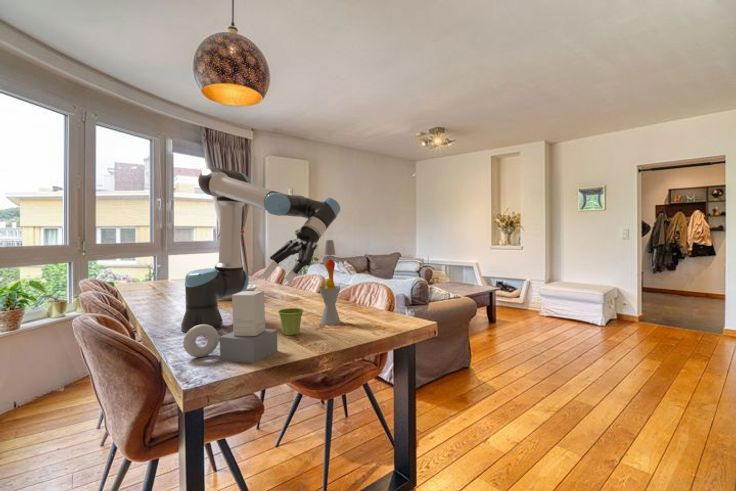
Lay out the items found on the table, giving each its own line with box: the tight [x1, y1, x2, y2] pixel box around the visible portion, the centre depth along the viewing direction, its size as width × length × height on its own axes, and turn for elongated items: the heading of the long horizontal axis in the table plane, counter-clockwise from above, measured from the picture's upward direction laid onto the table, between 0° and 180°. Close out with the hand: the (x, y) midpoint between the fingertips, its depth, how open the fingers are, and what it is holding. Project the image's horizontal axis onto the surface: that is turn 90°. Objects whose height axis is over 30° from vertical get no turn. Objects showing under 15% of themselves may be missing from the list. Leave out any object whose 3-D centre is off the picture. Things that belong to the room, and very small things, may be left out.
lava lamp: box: [319, 239, 341, 326], centre depth 149 cm, size 9×9×35 cm
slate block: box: [219, 328, 278, 364], centre depth 110 cm, size 12×12×7 cm
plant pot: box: [277, 307, 304, 336], centre depth 133 cm, size 9×9×9 cm
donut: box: [182, 324, 220, 358], centre depth 108 cm, size 10×4×10 cm, turn 124°
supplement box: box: [231, 290, 266, 336], centre depth 109 cm, size 7×7×13 cm
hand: (274, 278), depth 115 cm, fingers open, 13 cm apart
